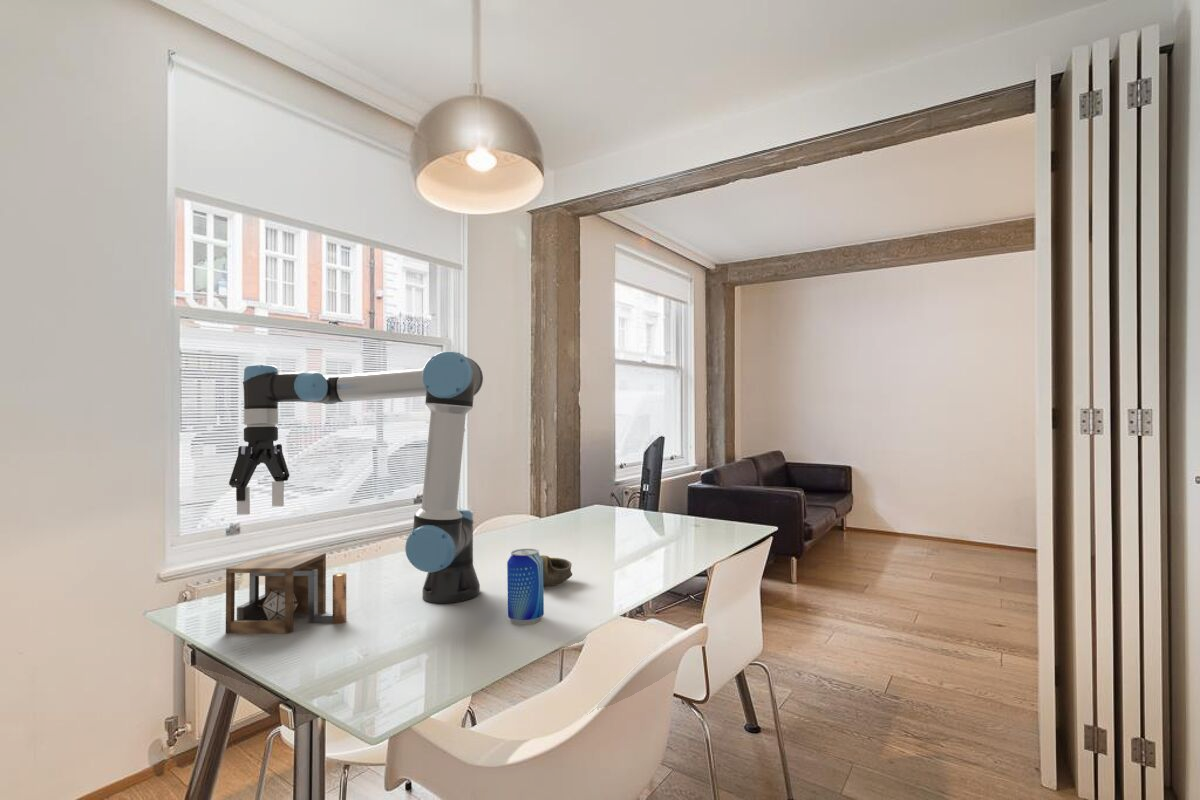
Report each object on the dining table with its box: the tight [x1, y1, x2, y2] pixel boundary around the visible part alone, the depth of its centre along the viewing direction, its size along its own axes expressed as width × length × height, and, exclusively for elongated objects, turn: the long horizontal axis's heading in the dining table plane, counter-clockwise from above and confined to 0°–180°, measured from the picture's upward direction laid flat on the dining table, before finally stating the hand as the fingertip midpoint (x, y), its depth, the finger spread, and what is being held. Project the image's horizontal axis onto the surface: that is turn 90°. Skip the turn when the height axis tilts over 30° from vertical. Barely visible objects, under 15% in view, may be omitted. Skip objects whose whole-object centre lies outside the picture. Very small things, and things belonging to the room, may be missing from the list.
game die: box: [259, 586, 301, 620], centre depth 139 cm, size 9×8×10 cm
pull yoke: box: [236, 569, 347, 625], centre depth 139 cm, size 23×10×12 cm, turn 87°
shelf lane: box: [225, 552, 327, 634], centre depth 139 cm, size 15×15×14 cm
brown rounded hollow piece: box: [540, 554, 573, 587], centre depth 166 cm, size 14×18×10 cm
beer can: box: [506, 548, 545, 626], centre depth 137 cm, size 8×8×16 cm
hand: (261, 510), depth 146 cm, fingers open, 13 cm apart
